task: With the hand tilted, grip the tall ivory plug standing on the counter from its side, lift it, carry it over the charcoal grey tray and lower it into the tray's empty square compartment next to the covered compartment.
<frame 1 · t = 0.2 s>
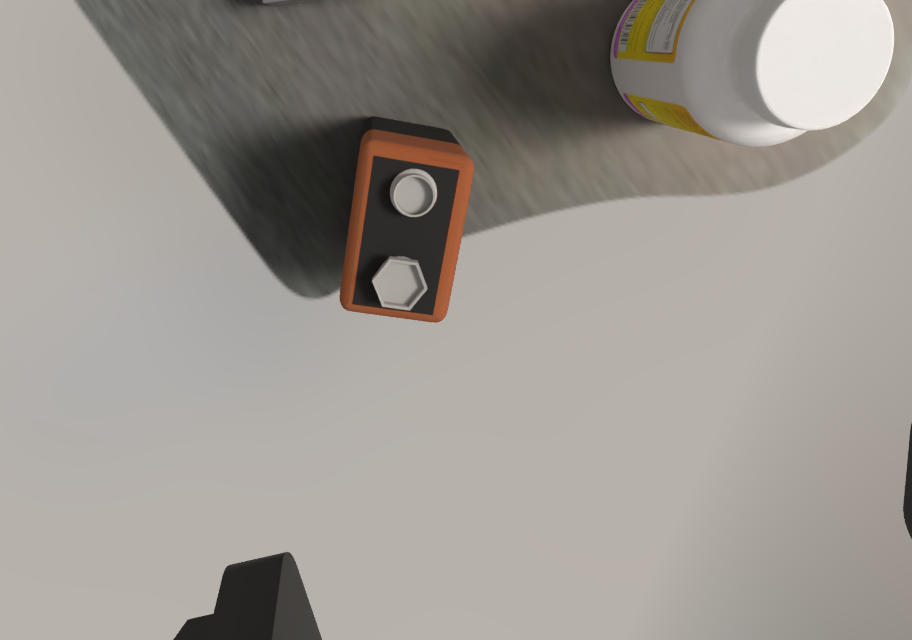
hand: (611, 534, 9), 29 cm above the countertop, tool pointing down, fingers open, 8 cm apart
battery: (398, 190, 36), on the countertop
supplement bottle: (671, 50, 35), on the countertop
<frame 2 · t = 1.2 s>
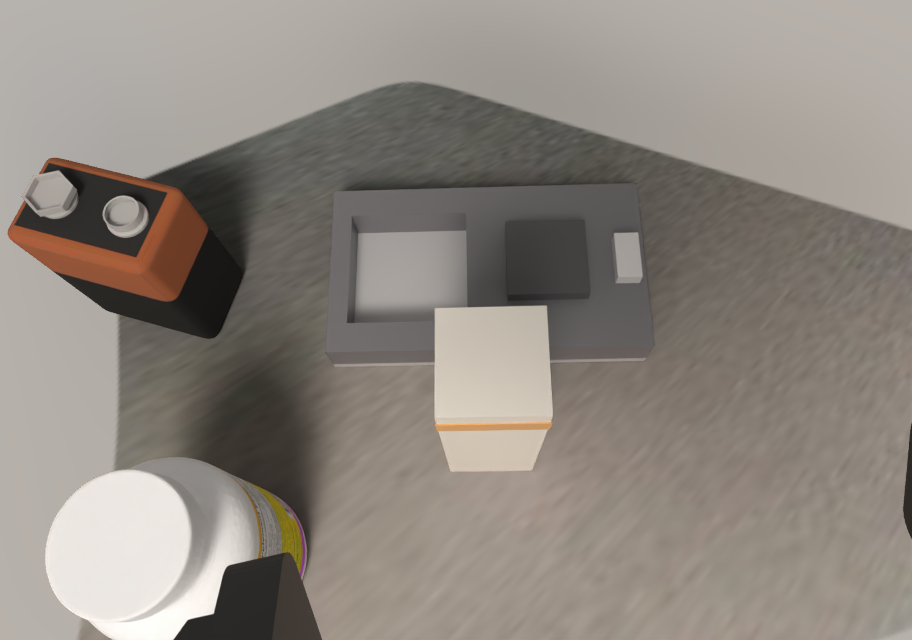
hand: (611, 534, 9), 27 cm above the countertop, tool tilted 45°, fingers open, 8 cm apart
battery: (177, 293, 40), on the countertop
supplement bottle: (243, 559, 35), on the countertop
plug: (490, 430, 37), on the countertop
grey tray: (486, 284, 39), on the countertop
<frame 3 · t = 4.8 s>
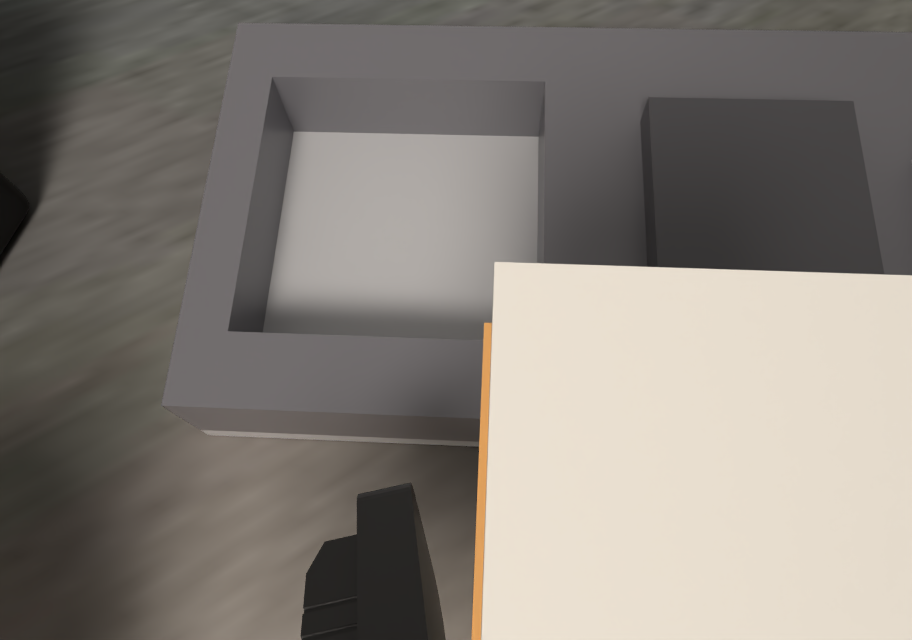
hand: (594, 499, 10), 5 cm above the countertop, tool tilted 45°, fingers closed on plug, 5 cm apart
plug: (582, 631, 14), on the countertop, touching gripper
grey tray: (579, 258, 17), on the countertop
when the fingers open (7 cm above the countertop, at t = 9.2 s): plug stays where it is, resting on grey tray.
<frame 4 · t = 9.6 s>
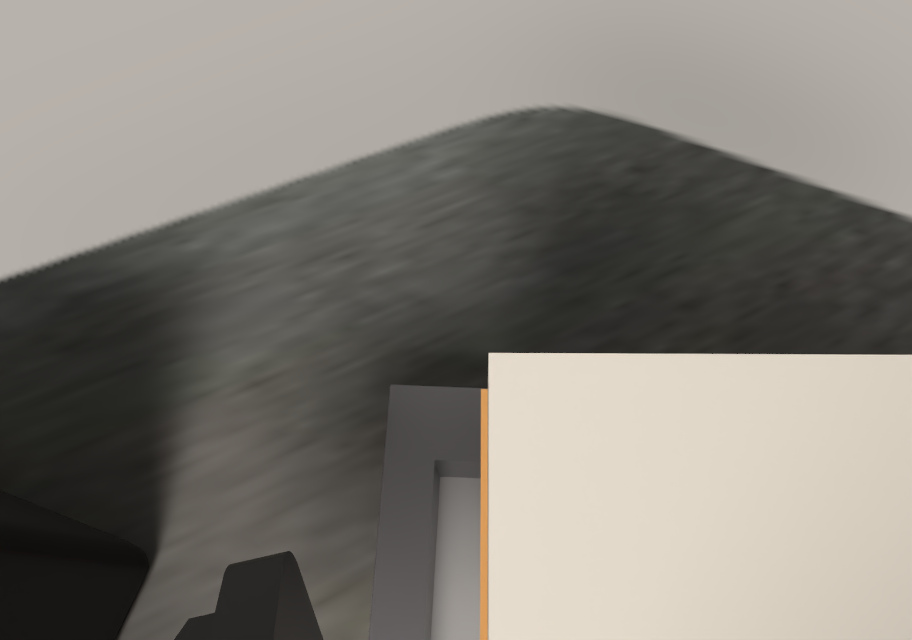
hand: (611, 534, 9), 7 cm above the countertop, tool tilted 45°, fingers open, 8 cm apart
plug: (581, 634, 15), resting on grey tray
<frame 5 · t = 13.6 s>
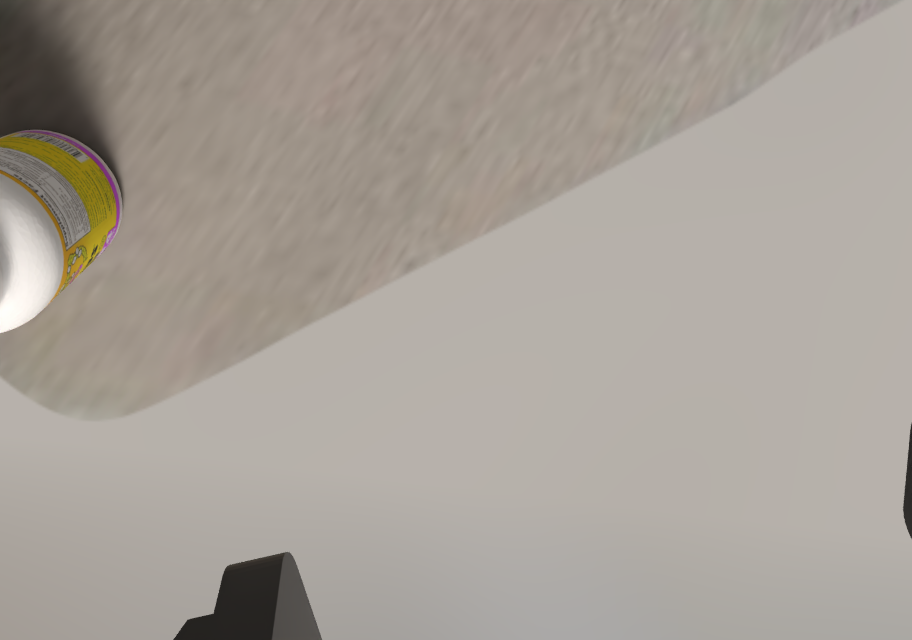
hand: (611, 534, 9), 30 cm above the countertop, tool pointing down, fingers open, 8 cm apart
supplement bottle: (57, 195, 36), on the countertop
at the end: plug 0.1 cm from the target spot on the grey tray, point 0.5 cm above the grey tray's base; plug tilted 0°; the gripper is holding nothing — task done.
